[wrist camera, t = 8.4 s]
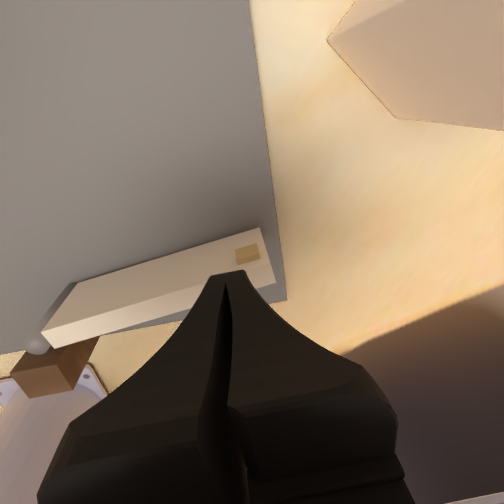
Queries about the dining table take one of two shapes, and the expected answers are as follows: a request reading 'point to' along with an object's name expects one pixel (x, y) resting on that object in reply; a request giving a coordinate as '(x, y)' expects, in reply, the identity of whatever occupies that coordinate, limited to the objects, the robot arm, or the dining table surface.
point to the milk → (429, 58)
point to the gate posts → (53, 369)
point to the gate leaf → (146, 291)
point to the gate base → (124, 144)
